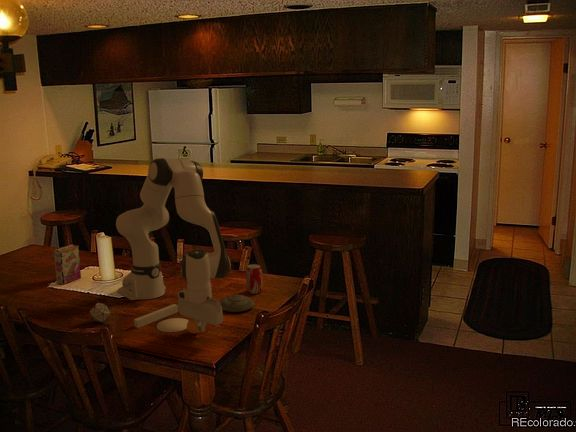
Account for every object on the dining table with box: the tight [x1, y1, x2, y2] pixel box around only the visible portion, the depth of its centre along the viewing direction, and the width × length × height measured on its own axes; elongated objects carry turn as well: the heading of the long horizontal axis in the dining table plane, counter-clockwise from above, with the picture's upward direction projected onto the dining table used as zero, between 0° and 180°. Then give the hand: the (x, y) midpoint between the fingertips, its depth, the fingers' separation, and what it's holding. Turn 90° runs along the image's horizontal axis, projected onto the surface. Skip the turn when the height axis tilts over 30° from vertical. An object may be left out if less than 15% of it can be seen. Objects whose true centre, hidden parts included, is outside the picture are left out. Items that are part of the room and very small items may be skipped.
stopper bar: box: [133, 303, 179, 329], centre depth 231 cm, size 2×20×3 cm, turn 141°
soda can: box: [245, 263, 263, 295], centre depth 259 cm, size 7×7×12 cm
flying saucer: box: [219, 294, 255, 313], centre depth 242 cm, size 15×15×6 cm
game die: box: [87, 300, 114, 325], centre depth 229 cm, size 9×8×10 cm
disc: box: [156, 317, 190, 333], centre depth 226 cm, size 13×13×1 cm
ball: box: [186, 318, 201, 335], centre depth 218 cm, size 6×6×6 cm
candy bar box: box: [53, 244, 82, 286], centre depth 277 cm, size 11×5×16 cm, turn 154°
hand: (201, 330), depth 215 cm, fingers closed
